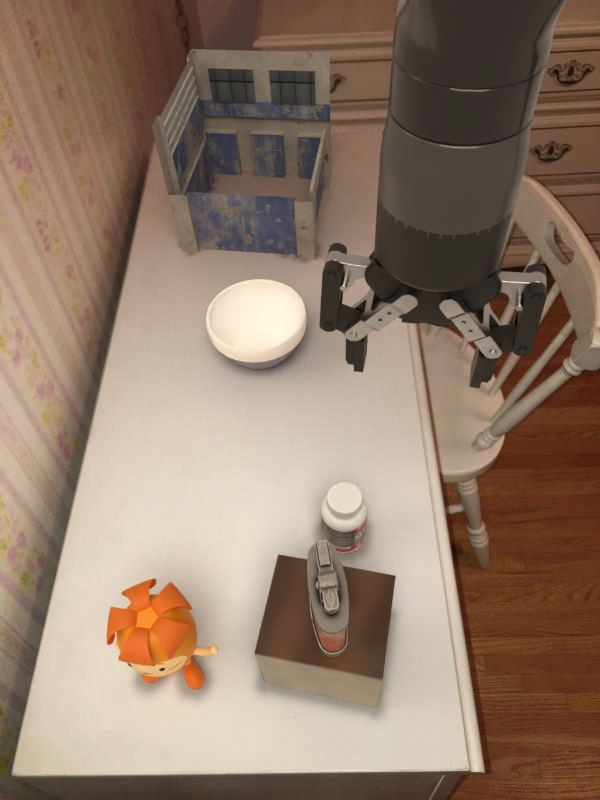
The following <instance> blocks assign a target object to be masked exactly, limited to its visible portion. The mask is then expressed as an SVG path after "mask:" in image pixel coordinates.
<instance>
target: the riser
mask: <svg viewBox="0 0 600 800" xmlns="http://www.w3.org/2000/svg"><path fill="white" fill-rule="evenodd" d="M307 561H308V558H301V557H296V556H291V555H284V554H280V553H279V554H277V557H276V562H275V566H274V569H273V574H272V579H271V583H270V586H269V590H268V595H267V599H266V603H265V607H264V612H263V616H262V620H261V623H260V624H261V625H260V628H259V633H258V637H257V640H256V645H255V648H254V656H255V659H256V662H257V665H258V668H259V669H260V672H261V675H262V678H263V680H264V683H265V685H268V686H273V687H279V688H283V689H287V690H293V691H296V692H302V693H305V694H310V695H315V696H320V697H324V698H330V699H334V700H339V701H343V702H348V703H353V704H358V705H362V706H367V707H372V708H377V705H378V700H379V696H380V692H381V688H382V684H383V680H384V673H385V665H386V658H387V657H386V656H387V648H388V640H389V633H390V624H391V616H392V610H393V609H392V607H393V601H394V593H395V585H396V577H397V576H396V575H394V574H390V573H389V574H388V573H383V572H379V571H372V570H369V569H368V570H367V569H361V568H356V567H351V566H344V565H342V566H343V569H344V573H345V577H346V581H347V588H348V597H349V622H348V631H347V647H346V649H345V651H344V652H343V653H342V654H340V655H338V656H328V655H325V654H324V653H323V652H322V651H321V649H320V647H319V644H318V641H317V638H316V635H315V633H314V628H313V623H312V619H311V612H310V598H309V590H308V577H307Z"/></svg>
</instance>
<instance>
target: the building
mask: <svg viewBox="0 0 600 800" xmlns="http://www.w3.org/2000/svg"><path fill="white" fill-rule="evenodd" d="M185 60H186V64H185V67H184V68H183V70H182V72H181V75H180V76H179V78H178V80H177V83H176V84H175V87H174V88H173V90H172V93H171V95H170V97H169V98H168V101H167V102H166V105H165V106H164V108H163V111H162V112H161V115H156V116H155V119H154V121H153V123H152V125H151V130H152V134H153V138H154V143H155V146H156V151H157V155H158V159H159V163H160V167H161V170H162V174H163V179H164V182H165V187H166V191H167V196H168V199H169V203H170V207H171V210H172V211H171V212H172V215H173V219H174V223H175V227H176V231H177V235H178V239H179V244H180V248H181V251H182V252H188V253H199V252H200V250H213V251H214V250H215V251H228V252H230V251H231V252H243V253H244V252H245V253H260V254H274V255H291V256H297V259H298V260H310V261H315V260H316V255H317V250H318V243H317V242H318V241H317V222H318V219H319V218H318V217H319V213H320V208H321V203H322V197H323V193H324V188H329V187H330V183H331V179H332V118H331V52H326V51H325V52H322V51H321V52H319V51H283V50H243V49H242V50H241V49H207V48H206V49H204V48H203V49H201V48H199V49H198V48H190V49H189V51H188V53H187V55H186V59H185ZM242 172H254V176H255V177H261V178H263V177H265V178H279V179H280V178H284V179H285V178H286V176H287V174H292V175H293V174H294V175H299V179H300V180H301V179H302V180H311V181H310V185H309V189H308V197H309V200H308V201H296V197H291V196H289V197H288V196H271V195H254V194H253V195H251V194H233V193H215V192H211V190H212V187H213V185H214V181H215V180H214V175H220V176H221V175H223V176H241V175H242Z"/></svg>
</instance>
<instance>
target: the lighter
mask: <svg viewBox="0 0 600 800" xmlns="http://www.w3.org/2000/svg"><path fill="white" fill-rule="evenodd" d="M307 560H308V561H307V577H308V590H309V598H310V612H311V619H312V623H313V628H314V633H315V635H316V638H317V641H318V644H319V647H320V649H321V651H322V652H323V653H324V654H325V655H328V656H338V655H340V654H342V653H343V652H344V651H345V649H346V647H347V631H348V622H349V597H348V588H347V581H346V577H345V573H344V569H343V566H344V565H343V563H342V561H341V558H340V555H339V553H337V550H336V549H335V547H334V546H333V545H331V544H330V543H328V541H327V540H323V539H319V540H317V541H315V543H314V544H313V545H311V547H310V548H309V549H308V552H307Z"/></svg>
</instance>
